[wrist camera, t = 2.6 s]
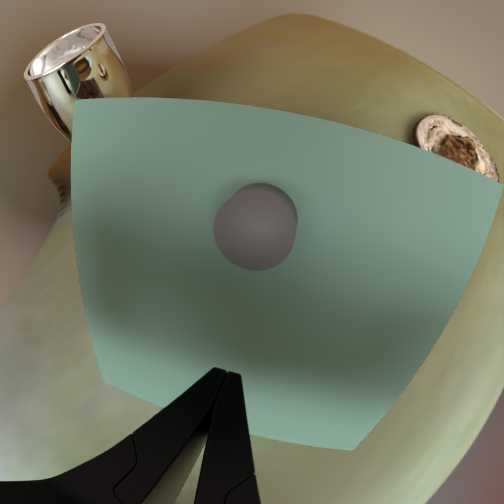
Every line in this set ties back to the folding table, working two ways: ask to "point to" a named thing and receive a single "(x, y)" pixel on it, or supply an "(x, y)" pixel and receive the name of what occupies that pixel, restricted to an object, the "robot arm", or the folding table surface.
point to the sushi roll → (453, 144)
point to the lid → (268, 257)
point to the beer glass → (76, 74)
